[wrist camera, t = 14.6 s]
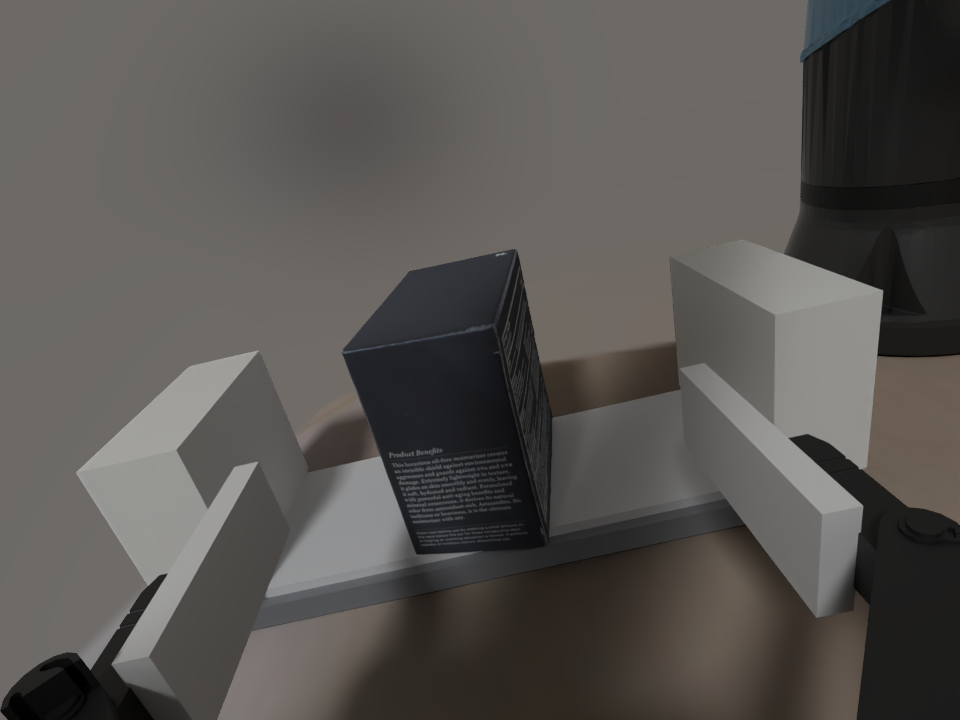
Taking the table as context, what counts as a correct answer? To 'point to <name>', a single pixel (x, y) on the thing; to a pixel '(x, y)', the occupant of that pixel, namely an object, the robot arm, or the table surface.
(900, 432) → the table surface
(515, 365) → the small box
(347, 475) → the panel
